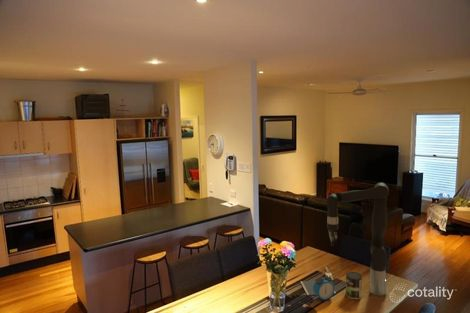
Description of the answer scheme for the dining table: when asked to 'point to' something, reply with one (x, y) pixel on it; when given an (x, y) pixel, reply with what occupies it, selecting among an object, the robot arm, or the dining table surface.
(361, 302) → the dining table surface
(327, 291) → the alarm clock
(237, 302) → the dining table surface
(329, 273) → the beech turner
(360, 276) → the coffee can
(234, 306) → the dining table surface
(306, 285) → the mat
